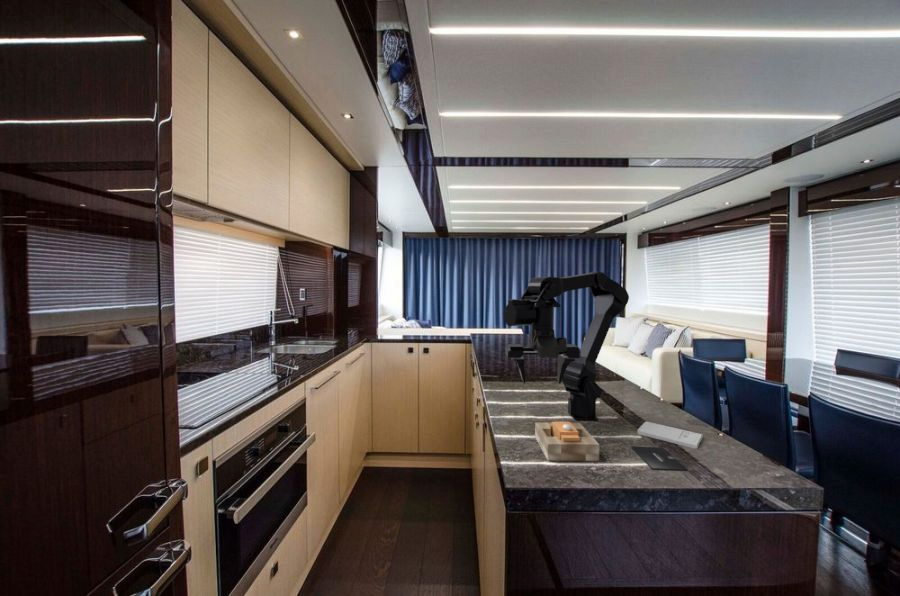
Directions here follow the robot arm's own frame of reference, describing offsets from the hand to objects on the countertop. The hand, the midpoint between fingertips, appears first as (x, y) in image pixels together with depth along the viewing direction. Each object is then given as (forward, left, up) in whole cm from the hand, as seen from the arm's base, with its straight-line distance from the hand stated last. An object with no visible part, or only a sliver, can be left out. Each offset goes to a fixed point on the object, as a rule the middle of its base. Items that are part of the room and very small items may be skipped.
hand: (541, 383), depth 96 cm
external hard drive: (-30, +7, -12) cm, 33 cm away
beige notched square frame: (-2, +14, -11) cm, 18 cm away
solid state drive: (-20, +19, -12) cm, 30 cm away
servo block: (-2, +14, -11) cm, 18 cm away
